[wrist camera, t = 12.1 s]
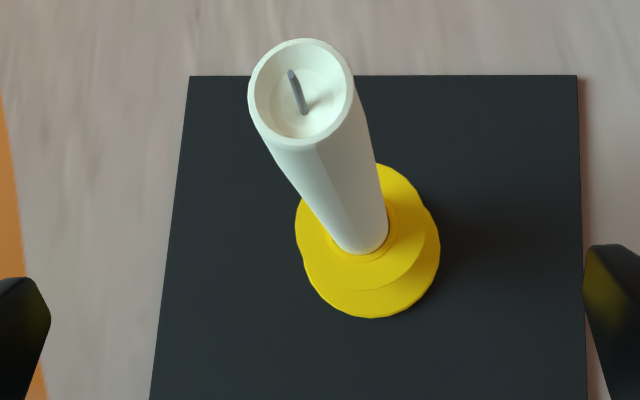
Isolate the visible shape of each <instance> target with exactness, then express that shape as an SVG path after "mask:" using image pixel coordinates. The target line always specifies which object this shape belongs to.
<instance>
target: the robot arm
mask: <svg viewBox="0 0 640 400" xmlns="http://www.w3.org/2000/svg"><path fill="white" fill-rule="evenodd" d="M582 299H583V304H584V307H585V311H586V315H587V318H588V322H589V325H590V329H591V332H592V336H593V339H594V343H595V346H596V350H597V353H598V357H599V360H600V364H601V367H602V371H603V374H604V378H605V381H606V385H607V388H608V391H609V394H610V397H611V400H640V256H639V255H637V254H635V253H634V252H632V251H631V250H629V249H627V248H626V247H624V246H622V245H619V244H606V245H593V246H591V247H590V248H589V250H588V252H587V256H586V263H585V270H584V277H583V284H582ZM50 325H51V314H50V311H49V309H48V307H47V305H46V303H45V301H44V299H43V297H42V295H41V293H40V291H39V289H38V288H37V286H36V284H35V282H34V281H33V280H32V279H30V278H28V277H14V278H6V279H3V280H1V281H0V400H25V397H26V394H27V392H28V389H29V385H30V383H31V380H32V377H33V374H34V372H35V369H36V366H37V363H38V360H39V357H40V355H41V352H42V349H43V346H44V343H45V340H46V337H47V335H48V332H49V329H50Z"/></svg>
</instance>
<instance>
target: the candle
mask: <svg viewBox="0 0 640 400" xmlns="http://www.w3.org/2000/svg"><path fill="white" fill-rule="evenodd" d="M247 99H248V106H249V112H250V115H251V117H252V120H253V122H254V124H255V127H256V128H257V130H258V132H259V134H260V135H261V137H262V139H263V140H264V142H265V144H266V146H267V147H268V149H269V151H270V152H271V154H272V156H273V158H274V159H275V161H276V163H277V164H278V166H279V167H280V168H281V170H282V171H283V172H284V174H285V175H286V176H287V178H288V179H289V180H290V182H291V183H292V184H293V186H294V187H295V188H296V190H297V191H298V192H299V194H300V195H301V196H302V199H301V201H300V204H299V206H298V208H297V214H296V221H295V232H296V241H297V244H298V247H299V249H300V252H301V254H302V257H303V261H304V267H305V270H306V272H307V275H308V277H309V280H310V282H311V284H312V285H313V287H314V288H315V289H316V291H317V292H318V293H319V295H320V296H321V297H322V298H323V299H324V300H325V301H327V302H328V303H329V304H331V305H332V306H333V307H334V308H336V309H338V310H340V311H343V312H345V313H347V314H350V315H352V316H357V317H364V318H379V317H387V316H391V315H394V314H396V313H398V312H401V311H403V310H405V309H407V308H409V307H410V306H411V305H412V304H414V303H415V302H416V301H417V300H419V299H420V298H421V297H422V296H423V294H424V293H425V292H426V290H427V289H428V287H429V286H430V285H431V283H432V281H433V279H434V276H435V274H436V271H437V268H438V266H439V257H440V241H439V236H438V230H437V227H436V225H435V223H434V221H433V219H432V217H431V214H430V212H429V211H428V210H427V209H426V208H425V207H424V205H423V204H422V201H421V199H420V197H419V195H418V193H417V191H416V190H415V188H414V187H413V186H412V185H411V184H410V183H409V181H408V180H407V179H406V178H405V177H404V176H402V175H401V174H399V173H398V172H396V171H395V170H393V169H392V168H390V167H387V166H384V165H381V164H378V163H376V162H375V158H374V153H373V149H372V144H371V140H370V135H369V130H368V126H367V121H366V116H365V113H364V110H363V108H362V105H361V102H360V99H359V96H358V93H357V91H356V88H355V84H354V78H353V73H352V71H351V69H350V67H349V64H348V62H347V60H346V59H345V58H344V57H343V56H342V55H341V53H340V52H339V51H338V50H337V49H335V48H334V47H332V46H331V45H329V44H327V43H326V42H322V41H319V40H316V39H312V38H297V39H293V40H289V41H285V42H283V43H282V44H280V45H278V46H276V47H274V48H272V49H271V50H270V51H269V52H268V53H267V54H266V55H265V56H264V57H263V58H262V59H261V60H260V62H259V63H258V64H257V66H256V67H255V69H254V70H253V73H252V76H251V79H250V81H249V85H248V95H247Z"/></svg>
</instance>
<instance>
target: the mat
mask: <svg viewBox="0 0 640 400" xmlns="http://www.w3.org/2000/svg"><path fill="white" fill-rule="evenodd" d="M353 78H354V84H355V88H356V91H357V93H358V96H359V99H360V102H361V105H362V108H363V110H364V113H365V116H366V121H367V126H368V130H369V135H370V140H371V144H372V149H373V153H374V158H375V162H376V163H378V164H381V165H384V166H387V167H390V168H392V169H393V170H395V171H396V172H398V173H399V174H401V175H402V176H404V177H405V178H406V179H407V180H408V181H409V183H410V184H411V185H412V186H413V187H414V188H415V190H416V191H417V193H418V195H419V197H420V199H421V201H422V204H423V205H424V207H425V208H426V209H427V210H428V211H429V212H430V214H431V217H432V219H433V221H434V223H435V225H436V227H437V230H438V236H439V241H440V257H439V266H438V268H437V271H436V274H435V276H434V279H433V281H432V283H431V285H430V286H429V287H428V289H427V290H426V292H425V293H424V294H423V296H422V297H421V298H420V299H419V300H417V301H416V302H415V303H414V304H412V305H411V306H410V307H409V308H407V309H405V310H403V311H401V312H398V313H396V314H394V315H391V316H387V317H379V318H364V317H357V316H352V315H350V314H347V313H345V312H343V311H340V310H338V309H336V308H334V307H333V306H332V305H331V304H329V303H328V302H327V301H325V300H324V299H323V298H322V297H321V296H320V295H319V293H318V292H317V291H316V289H315V288H314V287H313V285H312V284H311V282H310V280H309V277H308V275H307V272H306V270H305V267H304V261H303V257H302V254H301V252H300V249H299V247H298V244H297V241H296V232H295V221H296V214H297V208H298V206H299V204H300V201H301V199H302V196H301V195H300V194H299V192H298V191H297V190H296V188H295V187H294V186H293V184H292V183H291V182H290V180H289V179H288V178H287V176H286V175H285V174H284V172H283V171H282V170H281V168H280V167H279V166H278V164H277V163H276V161H275V159H274V158H273V156H272V154H271V152H270V151H269V149H268V147H267V146H266V144H265V142H264V140H263V139H262V137H261V135H260V134H259V132H258V130H257V128H256V127H255V124H254V122H253V120H252V117H251V115H250V112H249V106H248V99H247V95H248V85H249V81H250V79H251V76H190V77H189V85H188V93H187V101H186V109H185V117H184V125H183V133H182V141H181V149H180V157H179V165H178V173H177V181H176V189H175V197H174V205H173V213H172V221H171V229H170V237H169V245H168V253H167V261H166V269H165V277H164V285H163V293H162V301H161V309H160V316H159V324H158V332H157V340H156V348H155V356H154V364H153V372H152V380H151V388H150V396H149V400H588V397H587V366H586V336H585V307H584V304H583V299H582V284H583V277H584V275H583V245H582V214H581V184H580V153H579V123H578V92H577V75H412V76H353Z"/></svg>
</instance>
